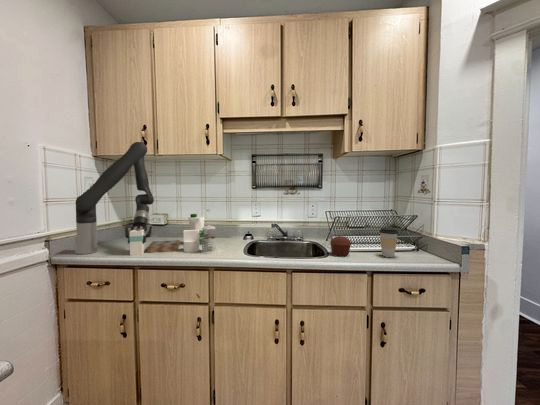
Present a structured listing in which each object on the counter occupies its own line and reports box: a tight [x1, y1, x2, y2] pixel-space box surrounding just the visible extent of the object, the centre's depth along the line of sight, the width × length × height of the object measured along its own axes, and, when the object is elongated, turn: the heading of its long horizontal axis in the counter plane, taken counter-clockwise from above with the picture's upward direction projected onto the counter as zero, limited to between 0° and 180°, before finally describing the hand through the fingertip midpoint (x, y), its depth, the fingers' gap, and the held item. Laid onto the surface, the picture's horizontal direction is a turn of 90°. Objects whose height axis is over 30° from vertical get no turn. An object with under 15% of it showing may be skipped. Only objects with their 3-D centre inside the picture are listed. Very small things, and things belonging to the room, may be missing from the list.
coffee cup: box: [378, 227, 399, 258], centre depth 131 cm, size 9×9×15 cm
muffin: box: [329, 235, 353, 257], centre depth 134 cm, size 12×11×10 cm
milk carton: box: [188, 213, 205, 246], centre depth 160 cm, size 9×9×20 cm
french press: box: [198, 208, 218, 255], centre depth 140 cm, size 10×12×25 cm
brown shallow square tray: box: [146, 239, 180, 254], centre depth 146 cm, size 16×16×4 cm
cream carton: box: [129, 229, 146, 256], centre depth 135 cm, size 6×6×14 cm
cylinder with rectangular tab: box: [182, 229, 200, 253], centre depth 143 cm, size 9×9×12 cm
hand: (136, 243), depth 133 cm, fingers closed on cream carton, 6 cm apart
